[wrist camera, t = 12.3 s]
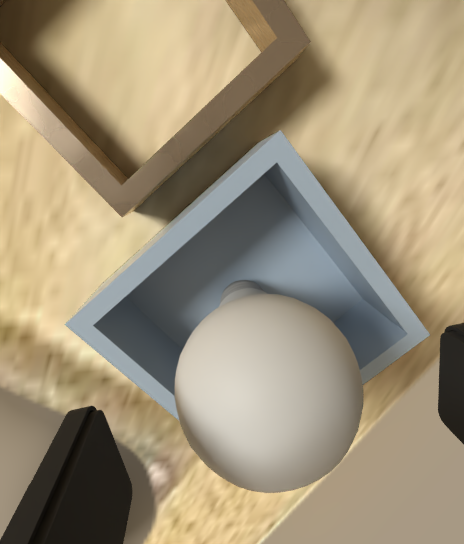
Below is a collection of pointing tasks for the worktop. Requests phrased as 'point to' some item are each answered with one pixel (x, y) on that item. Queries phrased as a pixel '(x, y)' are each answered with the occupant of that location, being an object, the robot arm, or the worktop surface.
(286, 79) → the worktop surface
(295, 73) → the worktop surface
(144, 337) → the box
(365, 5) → the worktop surface
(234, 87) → the socket collar
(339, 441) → the lightbulb
